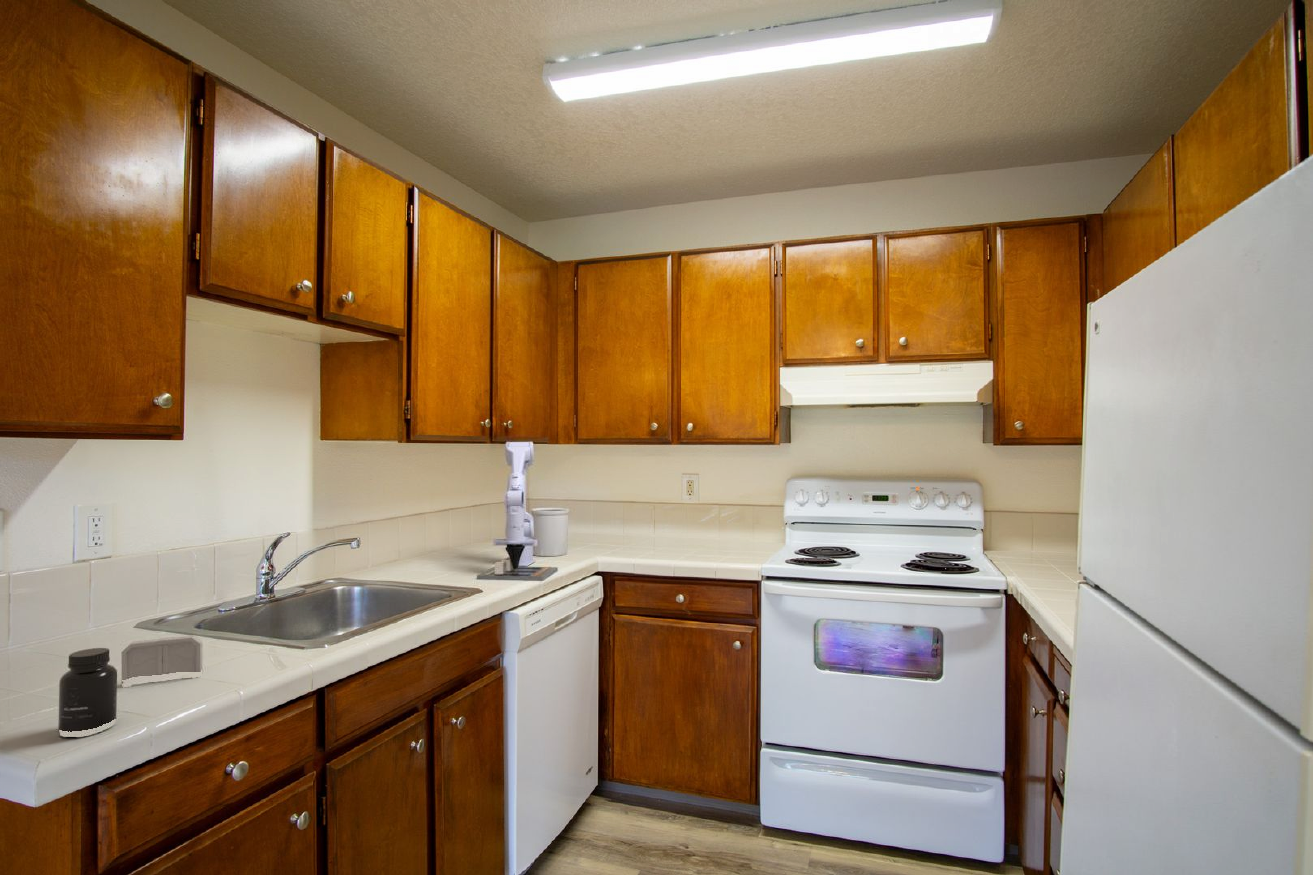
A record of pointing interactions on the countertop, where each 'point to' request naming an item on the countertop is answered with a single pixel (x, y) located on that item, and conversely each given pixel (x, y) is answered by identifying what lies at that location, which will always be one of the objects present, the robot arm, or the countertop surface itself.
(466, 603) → the countertop surface
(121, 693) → the countertop surface
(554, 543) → the utensil holder
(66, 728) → the supplement bottle
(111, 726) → the countertop surface
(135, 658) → the light switch
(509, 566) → the block
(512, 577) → the breaker panel
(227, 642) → the countertop surface
